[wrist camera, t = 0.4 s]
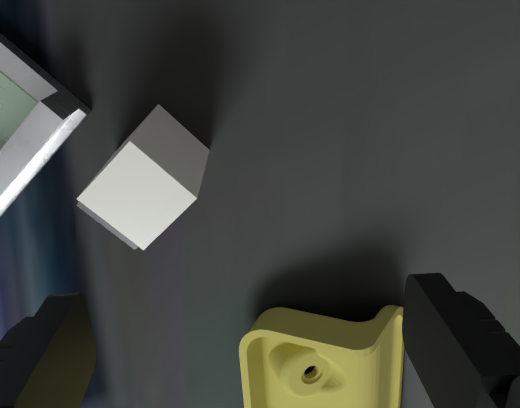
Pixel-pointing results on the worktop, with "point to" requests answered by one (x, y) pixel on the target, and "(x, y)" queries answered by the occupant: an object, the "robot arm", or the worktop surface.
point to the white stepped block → (30, 120)
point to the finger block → (147, 180)
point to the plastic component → (322, 360)
